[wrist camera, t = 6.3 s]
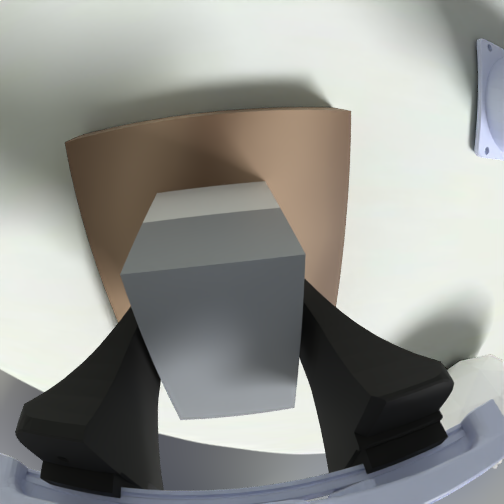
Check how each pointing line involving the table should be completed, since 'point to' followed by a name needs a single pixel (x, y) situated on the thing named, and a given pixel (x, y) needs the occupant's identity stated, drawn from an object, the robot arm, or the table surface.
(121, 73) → the table surface
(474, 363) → the geodesic sphere
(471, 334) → the table surface
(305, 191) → the walnut stand
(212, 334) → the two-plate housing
